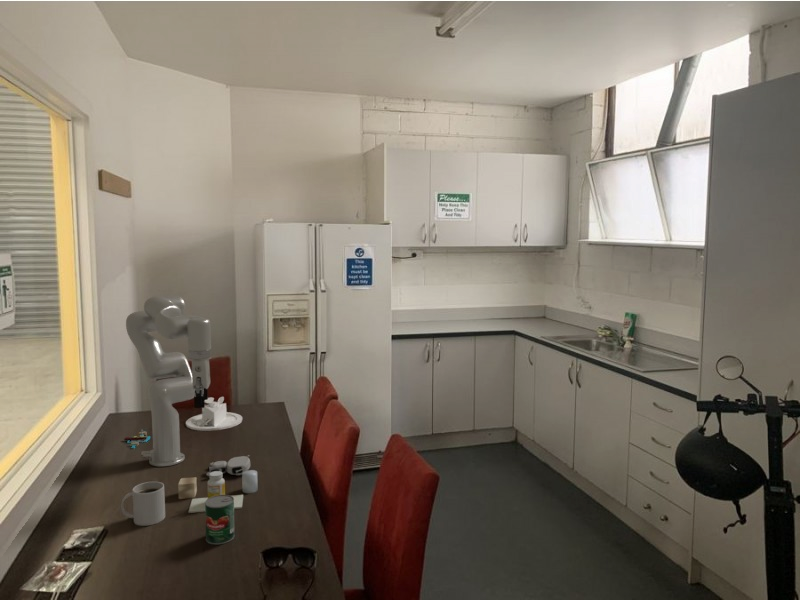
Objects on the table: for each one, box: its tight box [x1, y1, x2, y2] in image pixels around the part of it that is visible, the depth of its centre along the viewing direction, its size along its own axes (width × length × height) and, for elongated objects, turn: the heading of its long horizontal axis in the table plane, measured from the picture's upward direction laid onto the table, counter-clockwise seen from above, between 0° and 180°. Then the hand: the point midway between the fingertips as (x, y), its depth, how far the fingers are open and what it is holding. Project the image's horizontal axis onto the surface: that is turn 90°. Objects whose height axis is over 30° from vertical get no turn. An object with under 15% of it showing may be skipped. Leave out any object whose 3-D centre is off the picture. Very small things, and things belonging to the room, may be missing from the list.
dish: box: [185, 396, 243, 432], centre depth 272 cm, size 25×25×11 cm
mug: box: [120, 481, 166, 527], centre depth 178 cm, size 11×10×10 cm
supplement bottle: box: [206, 471, 226, 498], centre depth 189 cm, size 5×5×10 cm
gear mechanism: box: [123, 428, 151, 449], centre depth 247 cm, size 20×5×9 cm
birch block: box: [177, 476, 198, 500], centre depth 195 cm, size 5×5×5 cm
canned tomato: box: [204, 494, 236, 545], centre depth 168 cm, size 8×8×11 cm
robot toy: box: [205, 454, 252, 477], centre depth 214 cm, size 12×4×15 cm
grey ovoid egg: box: [241, 469, 259, 494], centre depth 199 cm, size 5×5×6 cm
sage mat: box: [188, 494, 244, 514], centre depth 189 cm, size 16×9×1 cm, turn 102°
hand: (201, 403), depth 202 cm, fingers open, 9 cm apart
